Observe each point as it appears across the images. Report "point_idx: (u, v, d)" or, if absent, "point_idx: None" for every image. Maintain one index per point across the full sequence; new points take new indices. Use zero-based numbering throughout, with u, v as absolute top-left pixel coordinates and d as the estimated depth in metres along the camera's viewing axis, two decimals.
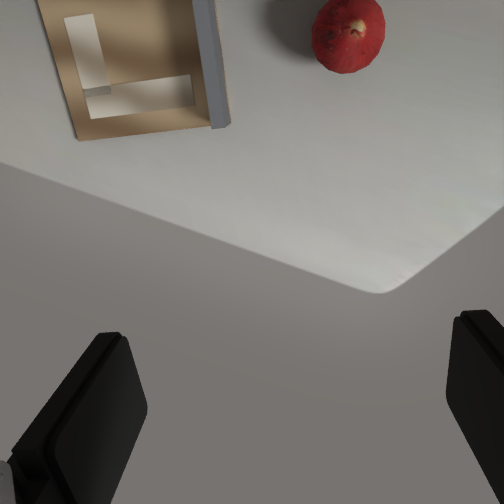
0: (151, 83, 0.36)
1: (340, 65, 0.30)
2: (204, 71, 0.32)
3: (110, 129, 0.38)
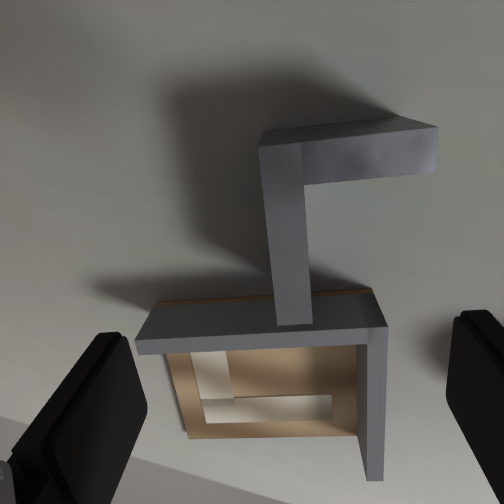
0: (284, 399, 0.31)
1: None
2: (369, 437, 0.26)
3: (227, 431, 0.33)
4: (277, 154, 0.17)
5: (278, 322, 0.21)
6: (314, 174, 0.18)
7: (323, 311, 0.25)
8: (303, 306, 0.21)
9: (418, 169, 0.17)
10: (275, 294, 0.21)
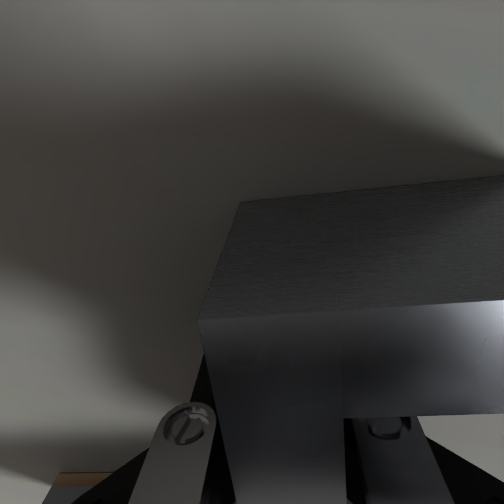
0: None
1: None
2: None
3: None
4: (261, 341, 0.05)
5: None
6: (379, 395, 0.06)
7: None
8: None
9: None
10: None
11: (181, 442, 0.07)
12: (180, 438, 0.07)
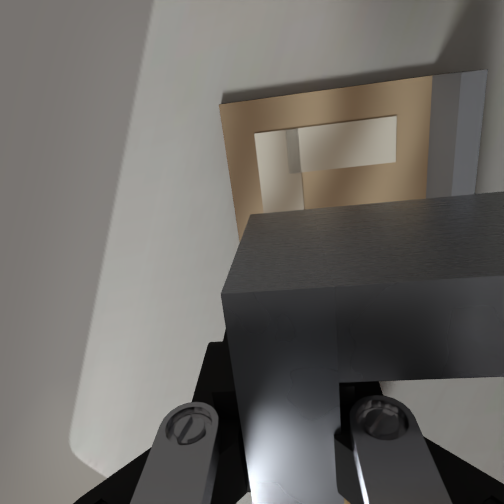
0: None
1: None
2: None
3: (239, 162, 0.25)
4: (272, 312, 0.07)
5: None
6: (368, 361, 0.07)
7: None
8: None
9: None
10: None
11: (183, 442, 0.07)
12: (182, 438, 0.07)
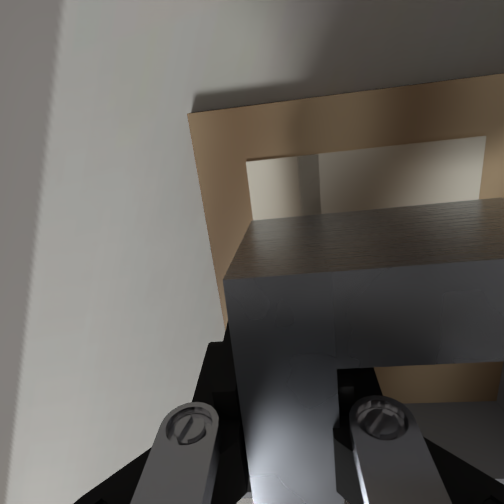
0: None
1: None
2: None
3: (222, 205, 0.15)
4: (271, 298, 0.07)
5: None
6: (365, 347, 0.07)
7: None
8: None
9: None
10: None
11: (183, 442, 0.07)
12: (182, 438, 0.07)
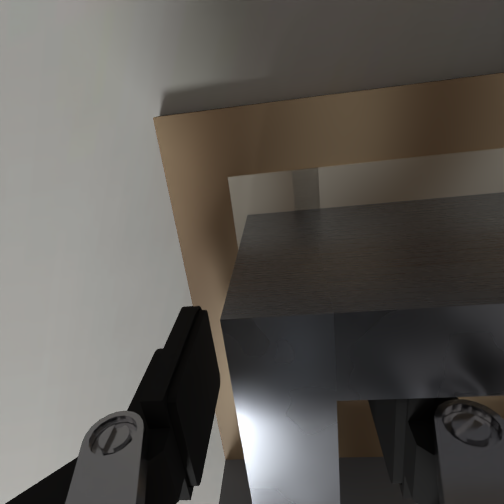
0: None
1: None
2: None
3: (200, 230, 0.13)
4: (271, 337, 0.07)
5: None
6: (366, 381, 0.07)
7: None
8: None
9: None
10: None
11: (109, 452, 0.07)
12: (108, 449, 0.07)
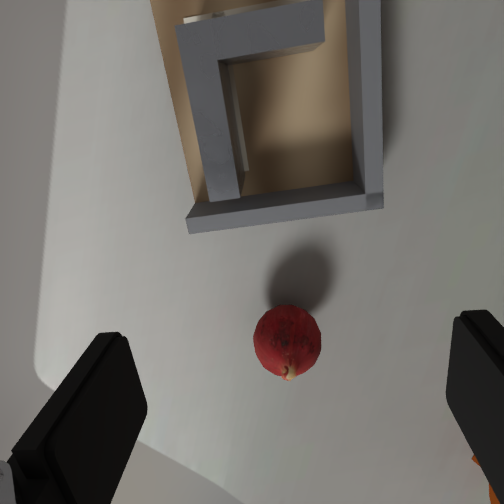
0: (236, 119, 0.28)
1: (259, 346, 0.30)
2: (249, 211, 0.27)
3: (172, 49, 0.26)
4: (191, 31, 0.20)
5: (210, 198, 0.24)
6: (225, 49, 0.21)
7: None
8: (230, 180, 0.24)
9: (311, 39, 0.20)
10: (204, 170, 0.23)
11: None
12: None
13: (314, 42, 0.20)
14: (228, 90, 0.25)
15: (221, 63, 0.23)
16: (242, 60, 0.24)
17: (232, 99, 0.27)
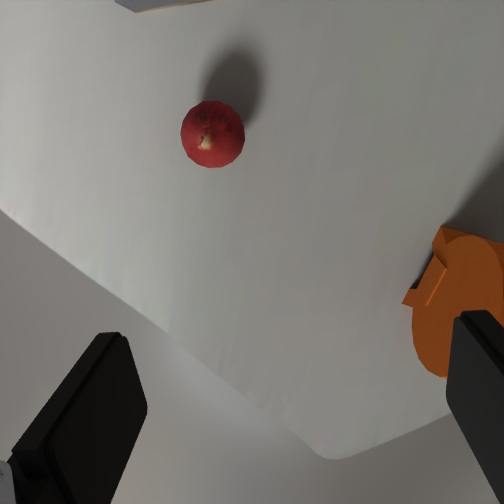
0: None
1: (183, 130, 0.33)
2: None
3: None
4: None
5: None
6: None
7: None
8: None
9: None
10: None
11: None
12: None
13: None
14: None
15: None
16: None
17: None
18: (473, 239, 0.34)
